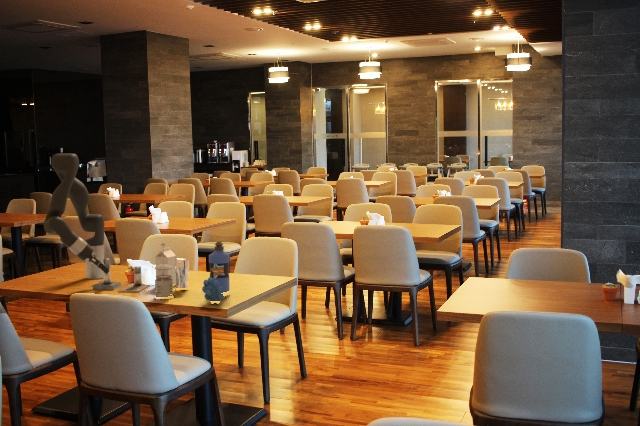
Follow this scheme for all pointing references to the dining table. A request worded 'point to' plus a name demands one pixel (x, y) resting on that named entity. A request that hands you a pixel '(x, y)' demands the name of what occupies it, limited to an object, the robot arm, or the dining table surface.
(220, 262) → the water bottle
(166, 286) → the french press
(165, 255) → the milk carton
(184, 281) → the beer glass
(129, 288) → the rack
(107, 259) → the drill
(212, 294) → the grapes
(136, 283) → the short bit
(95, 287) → the socket block
